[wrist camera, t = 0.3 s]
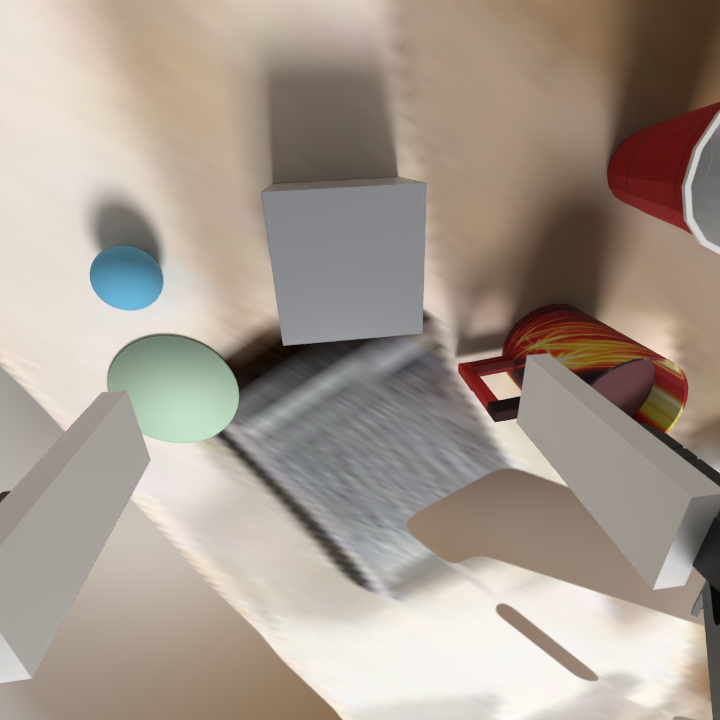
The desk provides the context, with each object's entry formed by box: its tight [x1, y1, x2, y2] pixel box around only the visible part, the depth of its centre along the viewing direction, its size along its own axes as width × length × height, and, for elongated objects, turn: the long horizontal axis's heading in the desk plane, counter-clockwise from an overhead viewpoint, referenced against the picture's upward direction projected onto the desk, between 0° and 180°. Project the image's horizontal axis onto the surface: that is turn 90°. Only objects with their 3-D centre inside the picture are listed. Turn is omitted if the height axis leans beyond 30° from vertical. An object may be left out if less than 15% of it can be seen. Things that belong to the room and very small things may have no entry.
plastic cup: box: [608, 102, 720, 254], centre depth 30 cm, size 11×11×12 cm
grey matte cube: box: [261, 177, 426, 345], centre depth 31 cm, size 10×10×9 cm
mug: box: [458, 304, 688, 433], centre depth 37 cm, size 10×14×12 cm
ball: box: [90, 245, 163, 310], centre depth 32 cm, size 5×5×5 cm
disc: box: [107, 336, 239, 443], centre depth 39 cm, size 12×12×1 cm
